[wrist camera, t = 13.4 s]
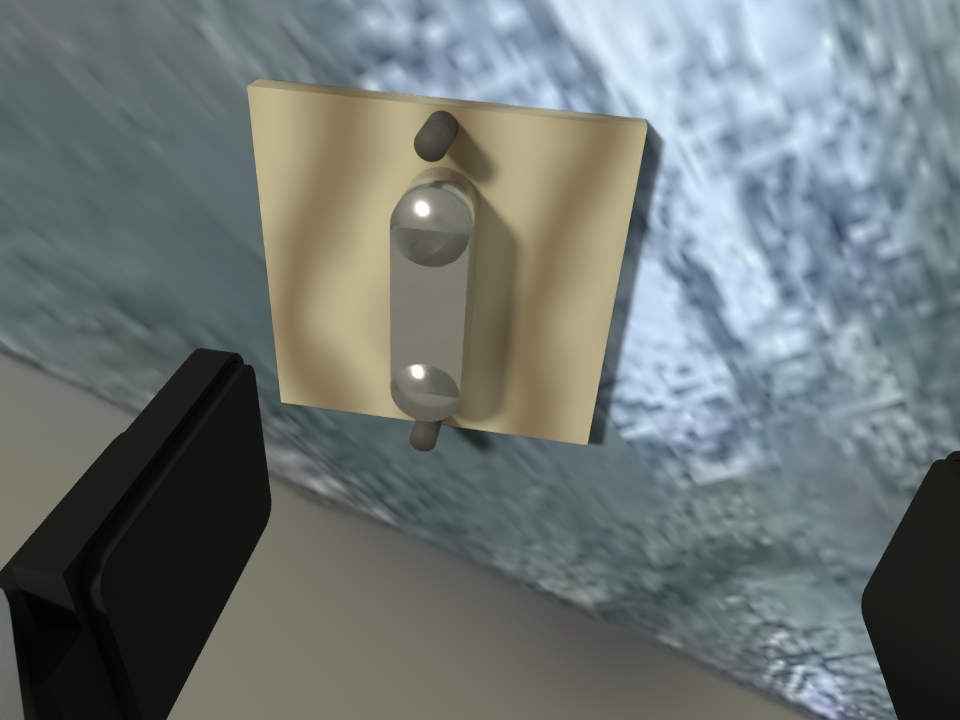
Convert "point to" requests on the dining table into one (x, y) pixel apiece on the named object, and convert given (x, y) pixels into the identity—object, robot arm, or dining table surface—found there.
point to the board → (500, 249)
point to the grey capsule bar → (432, 292)
